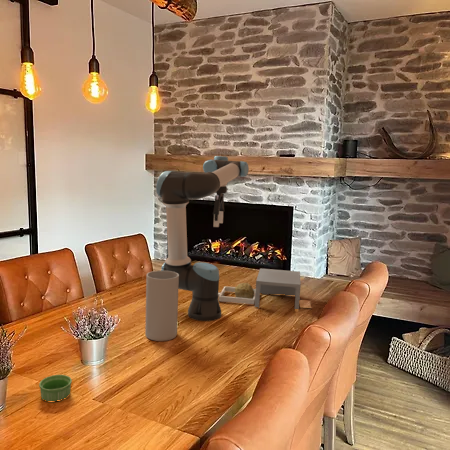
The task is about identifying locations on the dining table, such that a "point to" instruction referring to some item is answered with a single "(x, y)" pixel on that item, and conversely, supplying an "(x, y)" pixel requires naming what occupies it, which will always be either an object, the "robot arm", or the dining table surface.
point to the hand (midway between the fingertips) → (218, 224)
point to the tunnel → (278, 284)
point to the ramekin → (55, 387)
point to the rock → (244, 291)
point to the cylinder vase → (161, 305)
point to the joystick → (235, 299)
